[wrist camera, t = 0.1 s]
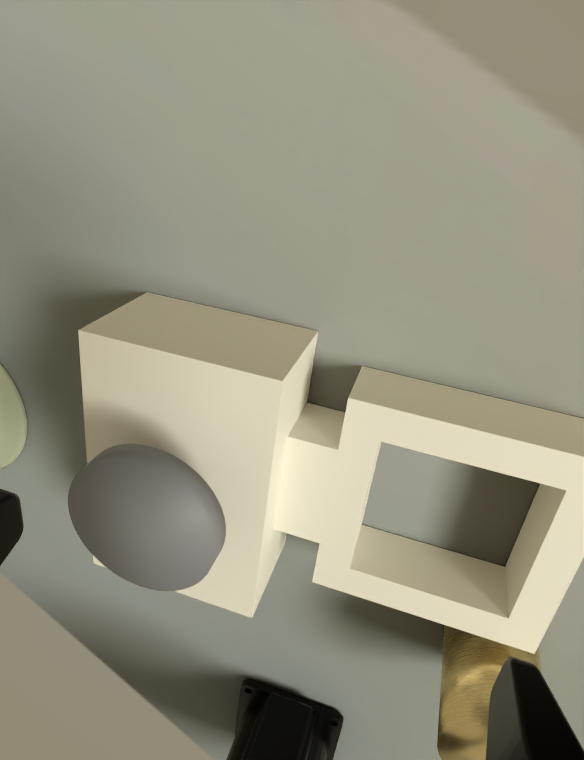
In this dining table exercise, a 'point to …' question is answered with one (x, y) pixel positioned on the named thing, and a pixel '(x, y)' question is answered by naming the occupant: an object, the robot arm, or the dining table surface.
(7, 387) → the can
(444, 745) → the brass cylinder
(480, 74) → the dining table surface
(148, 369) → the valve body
